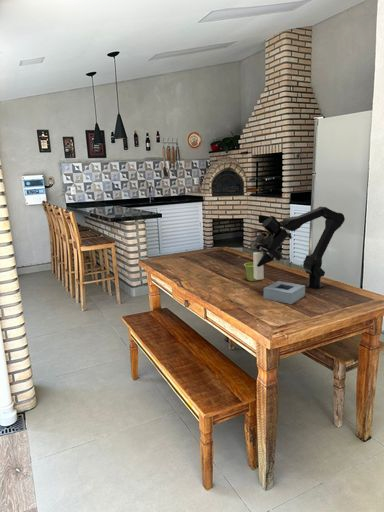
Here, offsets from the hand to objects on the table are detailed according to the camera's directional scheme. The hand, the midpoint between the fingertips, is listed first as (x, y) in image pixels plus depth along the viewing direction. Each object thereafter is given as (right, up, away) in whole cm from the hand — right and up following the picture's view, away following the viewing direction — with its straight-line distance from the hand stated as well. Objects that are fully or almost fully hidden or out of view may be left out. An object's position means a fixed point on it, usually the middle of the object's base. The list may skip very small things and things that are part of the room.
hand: (255, 265), depth 184 cm
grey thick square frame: (+13, -15, -2) cm, 20 cm away
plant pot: (+3, -9, +27) cm, 29 cm away
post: (+2, -6, +2) cm, 7 cm away
